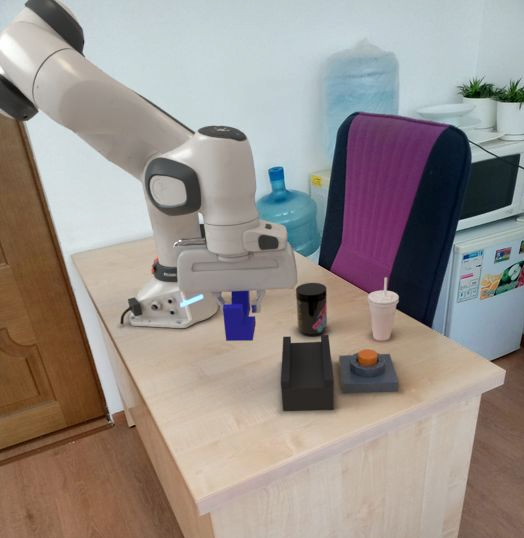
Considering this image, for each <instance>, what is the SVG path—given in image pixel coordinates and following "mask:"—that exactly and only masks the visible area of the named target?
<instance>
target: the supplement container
mask: <svg viewBox="0 0 524 538" xmlns="http://www.w3.org/2000/svg"><path fill="white" fill-rule="evenodd" d="M327 288H328V287H327V286H326V285H325V284H323V283H319V282H305V283H302V284H300V285H298V286H296V287H295V298H296V314H297V318H296V319H297V331H298V332H299V334H301V335H302V336H304V337H311V338H313V337H319V336H321V335H324V334H325V333H326V332H327V329H328V310H327V308H328V307H327V301H328V299H327V298H328V297H327V296H328V294H327V293H328V292H327Z"/></svg>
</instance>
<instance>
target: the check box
mask: <svg viewBox="0 0 524 538" xmlns="http://www.w3.org/2000/svg"><path fill="white" fill-rule="evenodd" d="M358 353H359V352H355V353H354V354H349V355H348V354H347V355H338V361H339V362H338V367H339V374H340V383H341V388H342V389H341V391H342V394H361V393H362V394H364V393H365V394H366V393H395V392H396V393H397V392H398V391H399V379H398V377H397V374H396V369H395V367H394V363H393V360H392V357H391V354H390V353H382V354H381V353H379V352H377V354H378V355H377V364H376V365H373V366H363V365H360V364H359V363H358Z"/></svg>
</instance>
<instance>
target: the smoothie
mask: <svg viewBox="0 0 524 538" xmlns="http://www.w3.org/2000/svg"><path fill="white" fill-rule="evenodd" d="M399 299H400V296H399V295H398V293H397V292H394V291H391V290H388V277H386V276H385V277H384V281H383V289H381V290H374V291H372V292H370V293H369V294H368V295H367V303H368V305H369V313H370V323H371V330H372V332H371V333H372V338H373V339H374V340H377V341H388V340H389V339H391V334H392V329H393V324H394V320H395V315H396V310H397V304H398V303H399V302H400V301H399Z"/></svg>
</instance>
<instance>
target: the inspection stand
mask: <svg viewBox="0 0 524 538" xmlns="http://www.w3.org/2000/svg"><path fill="white" fill-rule="evenodd" d="M280 371H281V372H280V388H281V401H282V402H281V403H282V411H283V412H309V411H310V412H311V411H313V412H314V411H334V409H335V407H334V402H335V401H334V400H335V399H334V396H335V395H334V372H333V364H332V356H331V346H330V336H329V334H322V335H320V341H307V342H292V336H291V335H290V336H283V337H282V353H281V369H280Z"/></svg>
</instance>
